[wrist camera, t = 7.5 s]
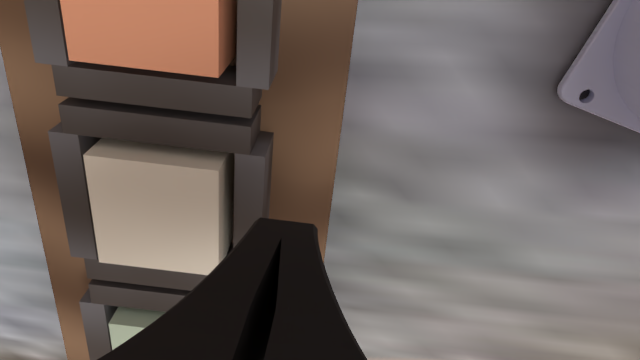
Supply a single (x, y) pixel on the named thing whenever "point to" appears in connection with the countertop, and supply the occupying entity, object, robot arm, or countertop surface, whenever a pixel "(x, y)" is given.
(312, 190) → the button panel
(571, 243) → the countertop surface
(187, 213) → the cream button
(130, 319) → the sage button
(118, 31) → the terracotta button
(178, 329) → the robot arm
